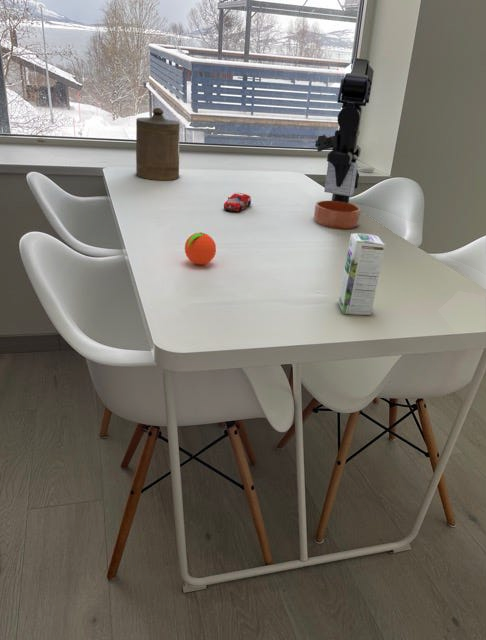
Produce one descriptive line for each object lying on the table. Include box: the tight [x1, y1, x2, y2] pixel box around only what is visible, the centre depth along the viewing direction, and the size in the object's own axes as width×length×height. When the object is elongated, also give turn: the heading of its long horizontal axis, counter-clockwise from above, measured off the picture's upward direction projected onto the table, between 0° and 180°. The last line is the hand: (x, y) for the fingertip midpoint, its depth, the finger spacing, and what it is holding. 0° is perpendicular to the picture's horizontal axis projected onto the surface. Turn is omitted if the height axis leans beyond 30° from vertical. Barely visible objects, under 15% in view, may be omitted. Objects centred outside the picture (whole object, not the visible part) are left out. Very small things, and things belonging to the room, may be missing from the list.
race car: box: [223, 192, 252, 213], centre depth 177 cm, size 13×5×4 cm, turn 160°
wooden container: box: [135, 107, 181, 181], centre depth 201 cm, size 15×15×22 cm
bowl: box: [313, 200, 361, 230], centre depth 172 cm, size 13×13×5 cm
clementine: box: [184, 231, 217, 266], centre depth 128 cm, size 8×7×7 cm
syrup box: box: [338, 233, 386, 316], centre depth 112 cm, size 6×6×14 cm
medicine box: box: [324, 161, 359, 197], centre depth 167 cm, size 8×4×9 cm, turn 71°
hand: (340, 185), depth 168 cm, fingers closed on medicine box, 4 cm apart
